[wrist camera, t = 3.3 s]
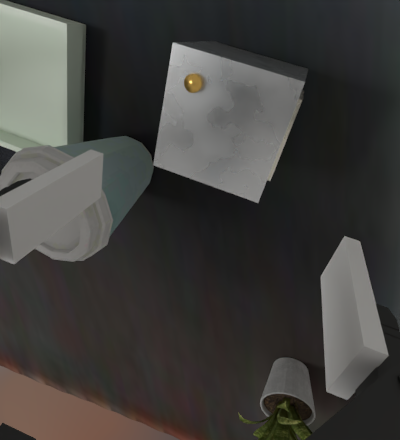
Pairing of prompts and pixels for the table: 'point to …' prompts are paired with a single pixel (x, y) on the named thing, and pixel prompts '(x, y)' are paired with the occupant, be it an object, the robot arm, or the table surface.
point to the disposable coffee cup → (102, 208)
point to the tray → (40, 78)
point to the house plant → (286, 402)
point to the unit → (227, 115)
